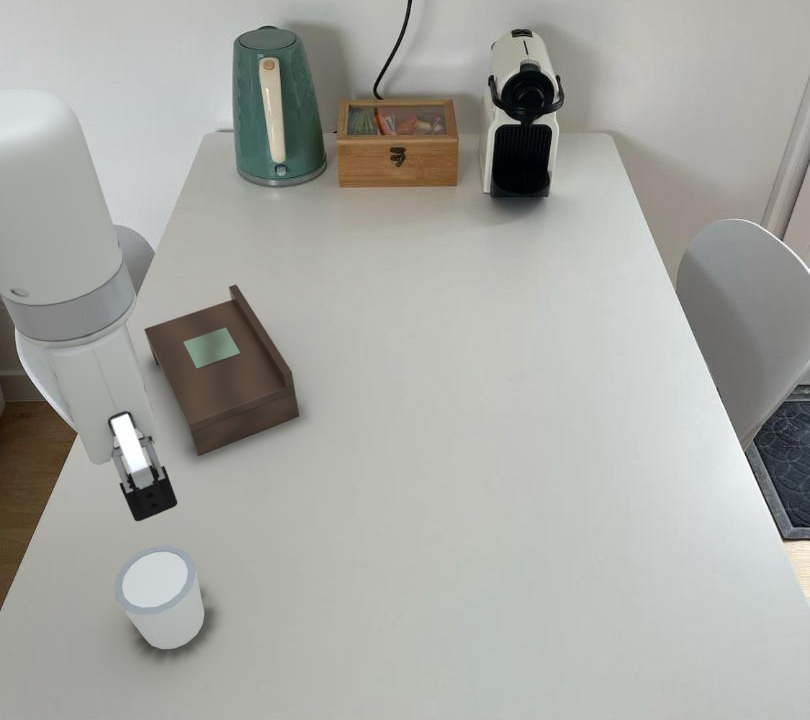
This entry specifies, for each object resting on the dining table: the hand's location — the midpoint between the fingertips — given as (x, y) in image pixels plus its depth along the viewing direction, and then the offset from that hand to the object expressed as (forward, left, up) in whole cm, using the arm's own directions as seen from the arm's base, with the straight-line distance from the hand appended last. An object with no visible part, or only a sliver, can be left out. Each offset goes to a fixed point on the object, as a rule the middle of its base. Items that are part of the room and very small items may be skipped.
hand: (139, 466), depth 63 cm
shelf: (+12, +25, -19) cm, 34 cm away
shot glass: (-2, -2, -19) cm, 19 cm away
